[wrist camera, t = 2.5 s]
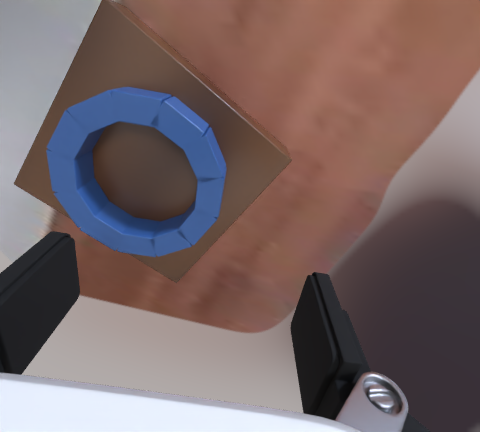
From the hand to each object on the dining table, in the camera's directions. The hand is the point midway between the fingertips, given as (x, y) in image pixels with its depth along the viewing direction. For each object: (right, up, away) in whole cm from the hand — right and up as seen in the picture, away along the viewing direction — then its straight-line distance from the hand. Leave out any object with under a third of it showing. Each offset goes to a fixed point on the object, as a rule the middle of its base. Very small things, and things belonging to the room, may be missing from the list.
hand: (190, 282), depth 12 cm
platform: (-4, +7, +11) cm, 14 cm away
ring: (-4, +6, +8) cm, 11 cm away
